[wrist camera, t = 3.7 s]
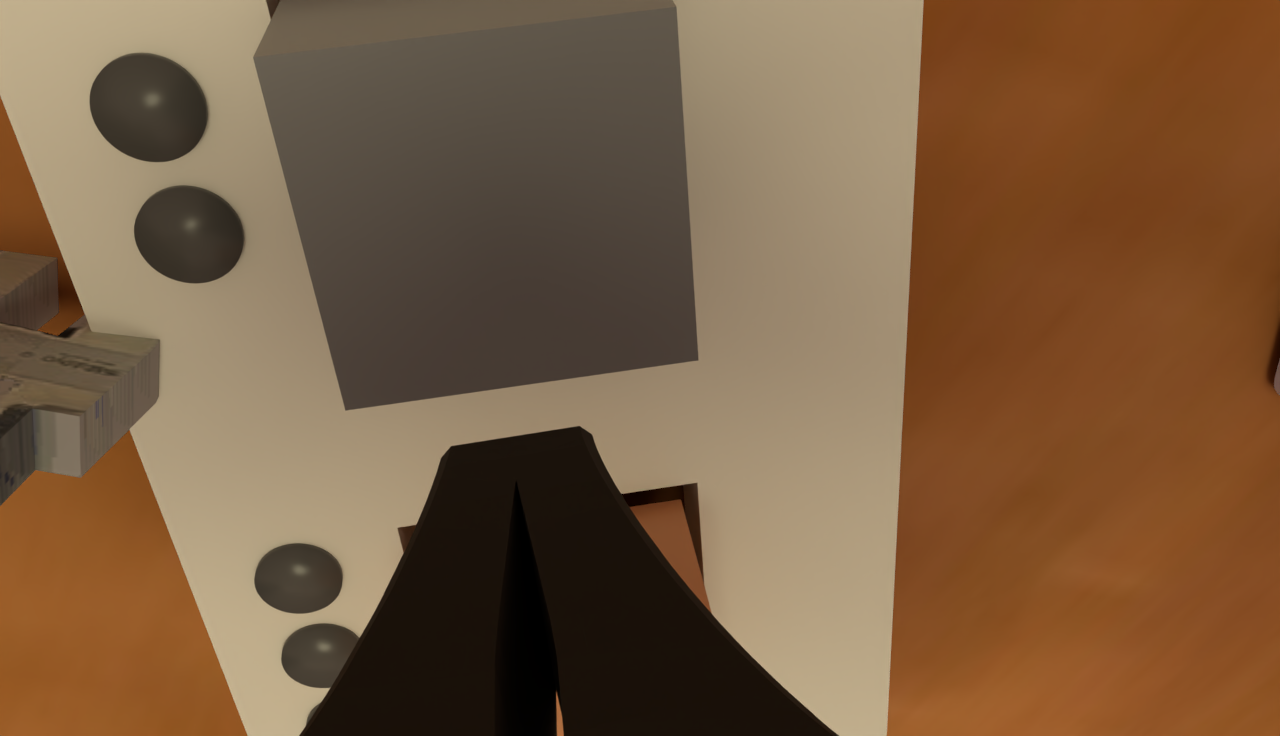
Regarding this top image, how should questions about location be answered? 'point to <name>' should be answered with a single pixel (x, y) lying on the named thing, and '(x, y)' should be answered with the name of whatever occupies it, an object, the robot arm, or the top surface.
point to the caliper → (62, 379)
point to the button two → (485, 188)
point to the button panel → (425, 429)
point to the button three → (667, 551)
